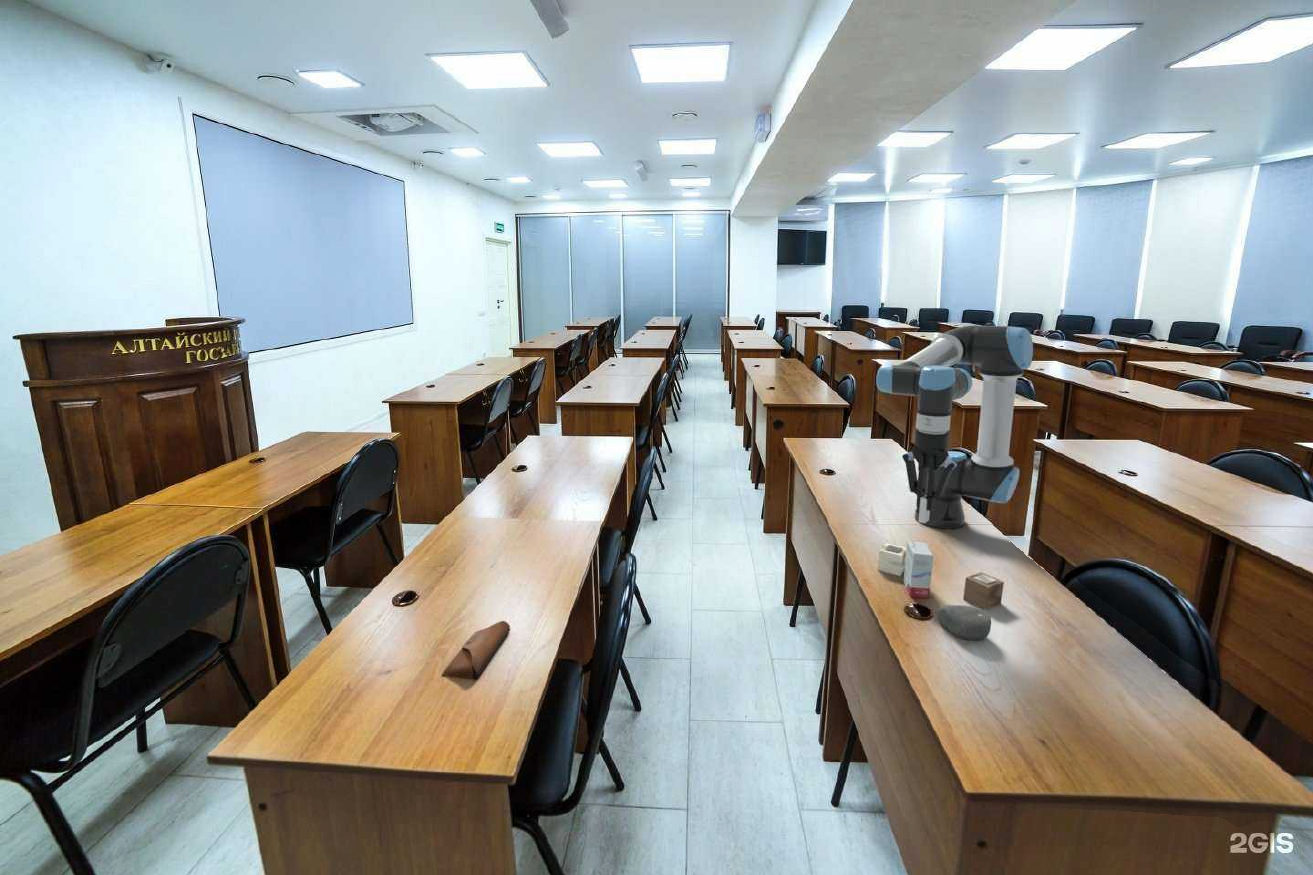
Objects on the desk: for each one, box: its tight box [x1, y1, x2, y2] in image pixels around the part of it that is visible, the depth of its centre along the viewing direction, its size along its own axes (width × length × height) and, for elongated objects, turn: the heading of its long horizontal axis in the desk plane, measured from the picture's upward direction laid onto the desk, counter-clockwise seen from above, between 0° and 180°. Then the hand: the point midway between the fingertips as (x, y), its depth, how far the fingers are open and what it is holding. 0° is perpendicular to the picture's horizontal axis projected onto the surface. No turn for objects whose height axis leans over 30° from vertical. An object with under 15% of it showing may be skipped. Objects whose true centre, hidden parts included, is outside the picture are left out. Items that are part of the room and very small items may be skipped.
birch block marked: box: [877, 542, 907, 577], centre depth 171 cm, size 6×6×6 cm
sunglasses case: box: [441, 620, 511, 681], centre depth 134 cm, size 18×7×7 cm
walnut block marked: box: [963, 571, 1005, 611], centre depth 153 cm, size 6×6×6 cm
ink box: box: [903, 540, 934, 599], centre depth 158 cm, size 9×5×12 cm, turn 168°
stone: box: [937, 604, 992, 641], centre depth 140 cm, size 9×9×10 cm
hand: (923, 520), depth 155 cm, fingers closed
